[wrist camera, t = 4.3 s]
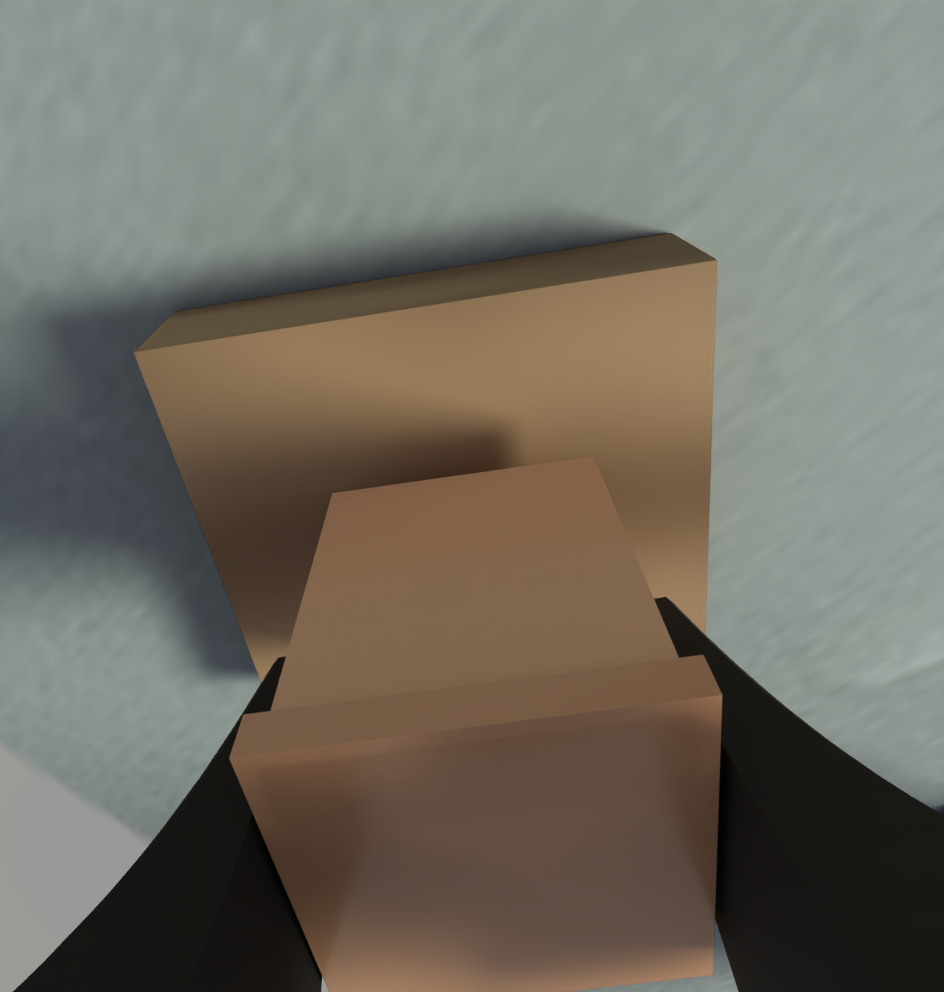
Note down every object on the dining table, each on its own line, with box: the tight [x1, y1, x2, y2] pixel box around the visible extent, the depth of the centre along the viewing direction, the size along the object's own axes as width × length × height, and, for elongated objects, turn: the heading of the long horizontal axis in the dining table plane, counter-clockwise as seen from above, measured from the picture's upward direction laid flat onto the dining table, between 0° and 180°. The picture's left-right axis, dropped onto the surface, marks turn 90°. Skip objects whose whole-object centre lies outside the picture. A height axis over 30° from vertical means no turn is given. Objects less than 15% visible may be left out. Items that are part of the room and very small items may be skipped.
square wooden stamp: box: [229, 456, 722, 992], centre depth 11 cm, size 5×5×6 cm
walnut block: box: [134, 233, 717, 683], centre depth 16 cm, size 10×10×2 cm
